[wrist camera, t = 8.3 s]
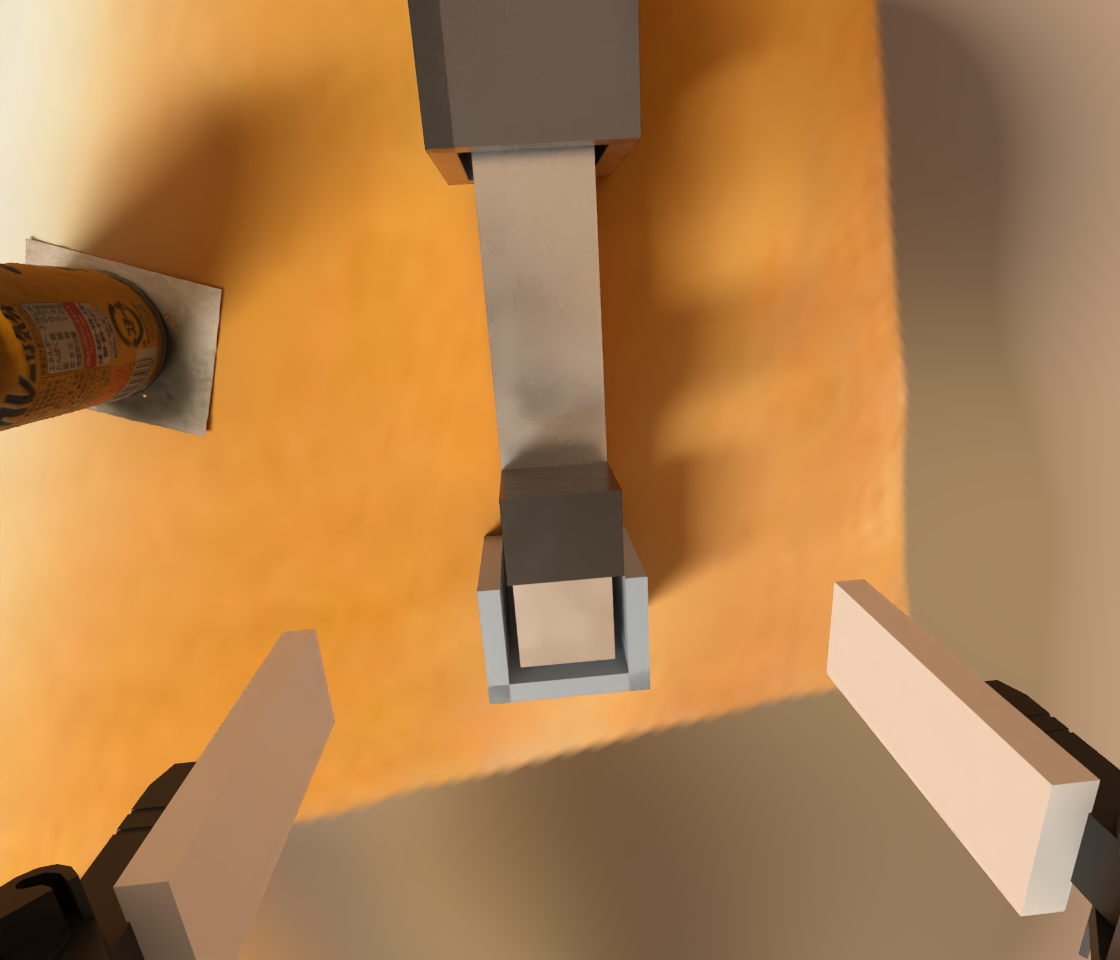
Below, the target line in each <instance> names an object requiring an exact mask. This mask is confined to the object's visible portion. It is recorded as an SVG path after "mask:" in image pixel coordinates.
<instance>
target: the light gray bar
mask: <svg viewBox="0 0 1120 960" xmlns="http://www.w3.org/2000/svg"><path fill="white" fill-rule="evenodd" d="M471 155H472V166H473V176H474V187H475V197H476V207H477V218H478V228H479V239H480V249H481V259H482V270H483V280H484V291H485V301H486V312H487V322H488V332H489V343H490V353H491V364H492V374H493V384H494V395H495V405H496V416H497V426H498V436H499V447H500V457H501V468H502V473H501V484H500V495H499V504H500V514H501V524H502V534H503V544H504V555H505V565H506V575H507V585H508V586H513V593H514V603H515V614H516V624H517V634H518V645H519V655H520V666H521V667H532V666H543V665H553V664H564V663H575V662H585V661H596V660H607V659H615V642H614V618H613V594H612V577H617V576H624V546H623V517H622V490H621V488H620V486H619V484H618V482H617V480H616V478H615V476H614V474H613V472H612V470H611V468H610V467H609V465H608V463H607V447H606V422H605V398H604V374H603V349H602V325H601V300H600V276H599V251H598V227H597V202H596V178H595V154H594V145H588V146H570V147H553V148H535V149H517V150H499V151H481V152H471Z"/></svg>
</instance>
